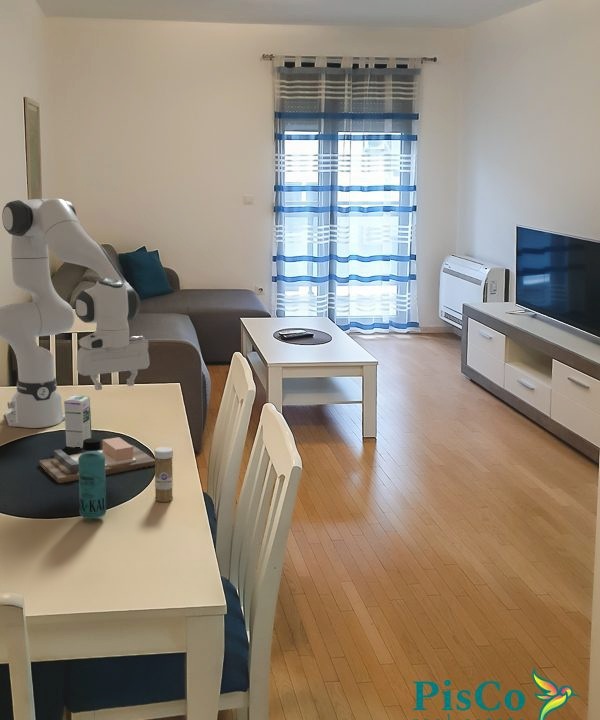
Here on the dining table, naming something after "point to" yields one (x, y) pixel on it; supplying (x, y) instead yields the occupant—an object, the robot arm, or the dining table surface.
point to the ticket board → (47, 466)
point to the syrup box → (77, 420)
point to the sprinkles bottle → (163, 474)
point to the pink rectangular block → (117, 451)
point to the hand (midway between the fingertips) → (114, 387)
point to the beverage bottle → (92, 480)
